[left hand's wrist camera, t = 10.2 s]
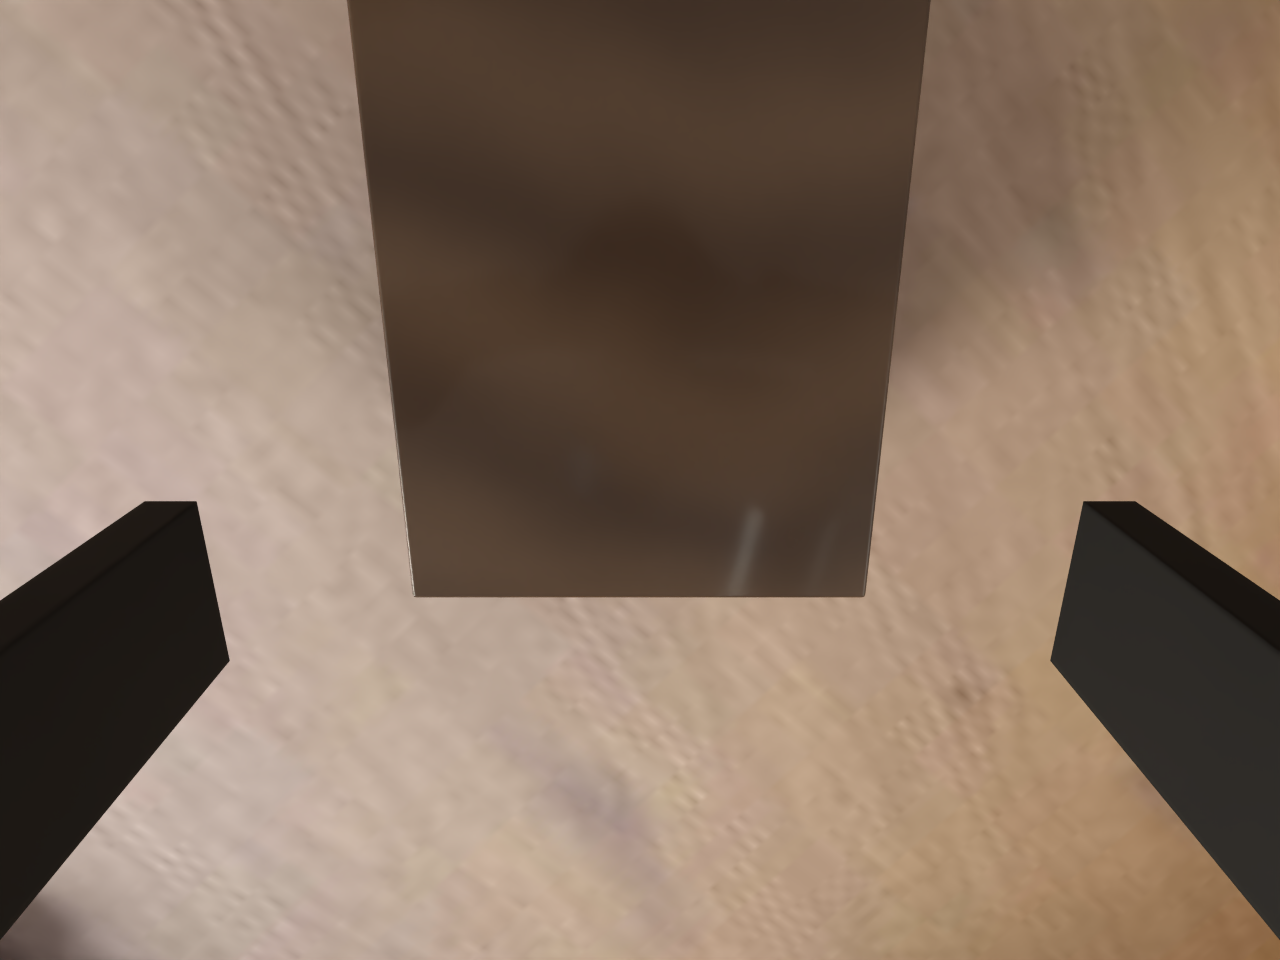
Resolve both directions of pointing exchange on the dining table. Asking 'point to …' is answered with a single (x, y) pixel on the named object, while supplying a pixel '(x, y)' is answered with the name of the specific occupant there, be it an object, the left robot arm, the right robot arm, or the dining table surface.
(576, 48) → the cabinet
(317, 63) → the dining table surface
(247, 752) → the dining table surface
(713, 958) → the dining table surface
